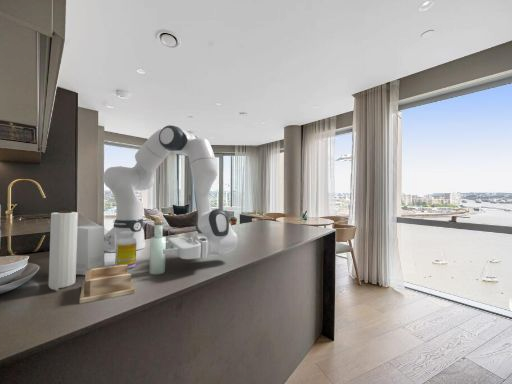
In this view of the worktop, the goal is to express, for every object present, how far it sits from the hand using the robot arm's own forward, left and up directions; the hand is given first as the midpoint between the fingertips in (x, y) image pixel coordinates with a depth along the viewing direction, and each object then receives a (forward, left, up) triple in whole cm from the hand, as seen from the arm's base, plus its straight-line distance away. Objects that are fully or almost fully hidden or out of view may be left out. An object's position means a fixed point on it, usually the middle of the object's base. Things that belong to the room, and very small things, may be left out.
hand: (160, 249), depth 81 cm
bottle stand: (0, -18, -8) cm, 19 cm away
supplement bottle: (-14, -3, -8) cm, 17 cm away
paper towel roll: (-14, -23, -8) cm, 28 cm away
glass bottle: (0, -1, -8) cm, 8 cm away
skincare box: (-20, -13, -8) cm, 25 cm away
